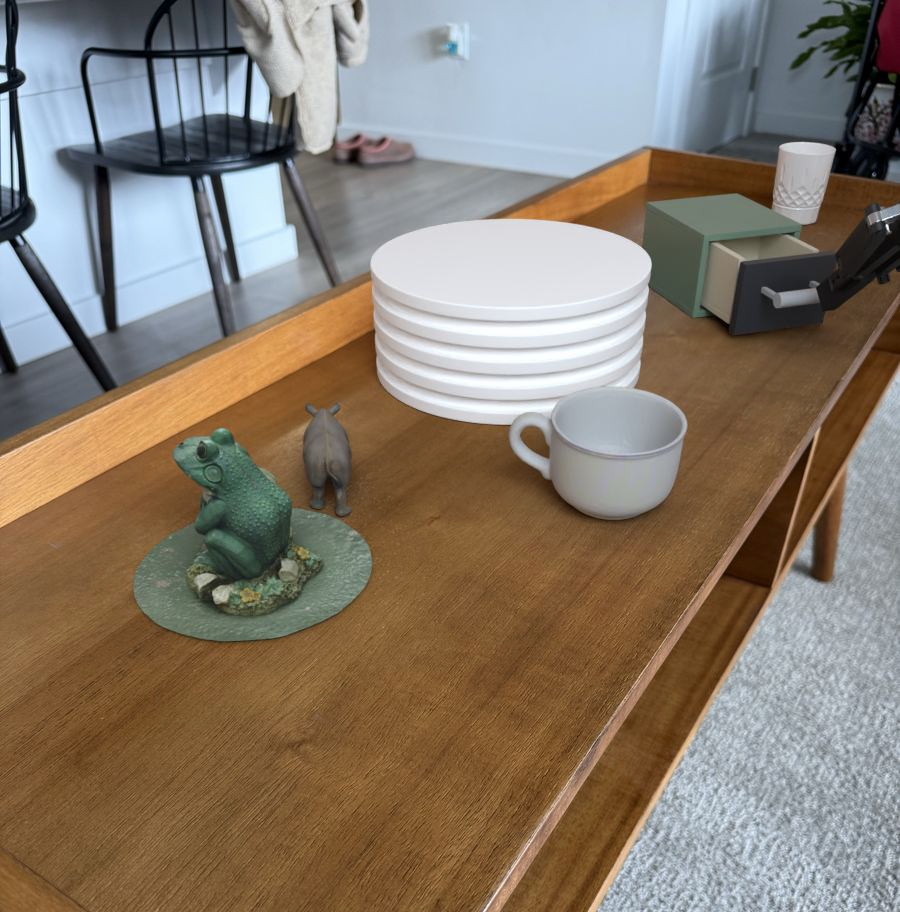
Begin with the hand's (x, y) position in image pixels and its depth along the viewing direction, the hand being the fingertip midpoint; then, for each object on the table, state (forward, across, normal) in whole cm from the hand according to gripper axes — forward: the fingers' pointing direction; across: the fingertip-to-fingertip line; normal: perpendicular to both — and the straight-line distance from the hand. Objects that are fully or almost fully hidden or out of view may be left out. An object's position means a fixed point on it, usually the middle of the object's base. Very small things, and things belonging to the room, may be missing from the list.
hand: (825, 298), depth 100 cm
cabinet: (+21, 0, -11) cm, 23 cm away
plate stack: (+11, +32, -1) cm, 33 cm away
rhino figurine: (-1, +54, +11) cm, 56 cm away
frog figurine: (-10, +63, +20) cm, 66 cm away
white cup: (+38, -28, -28) cm, 55 cm away
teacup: (-9, +34, +18) cm, 40 cm away
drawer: (+12, 0, -4) cm, 13 cm away
